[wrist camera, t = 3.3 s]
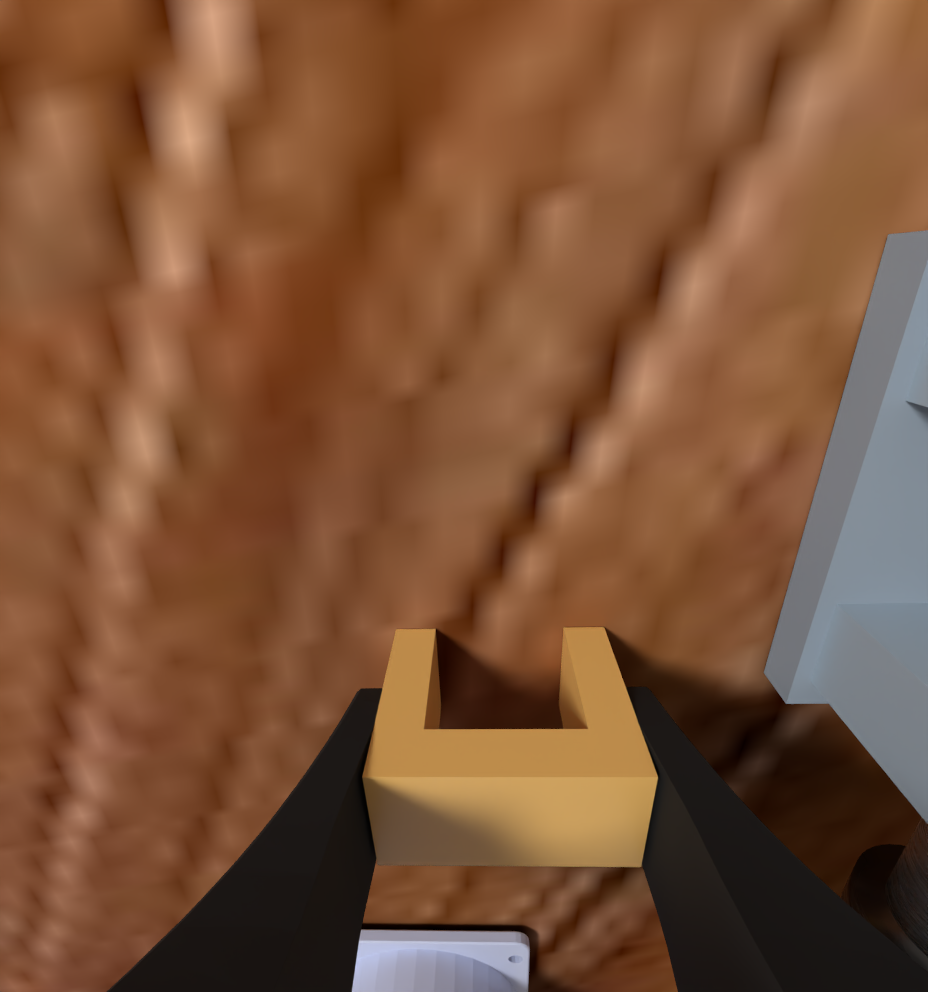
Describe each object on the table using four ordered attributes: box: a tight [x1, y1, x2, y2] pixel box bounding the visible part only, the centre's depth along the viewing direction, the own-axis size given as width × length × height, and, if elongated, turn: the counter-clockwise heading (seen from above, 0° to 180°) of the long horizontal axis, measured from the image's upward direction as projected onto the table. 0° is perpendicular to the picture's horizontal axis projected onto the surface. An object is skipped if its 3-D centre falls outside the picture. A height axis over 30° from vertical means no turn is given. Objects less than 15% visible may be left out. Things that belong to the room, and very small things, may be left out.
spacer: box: [362, 627, 658, 867], centre depth 11 cm, size 3×5×4 cm, turn 92°
